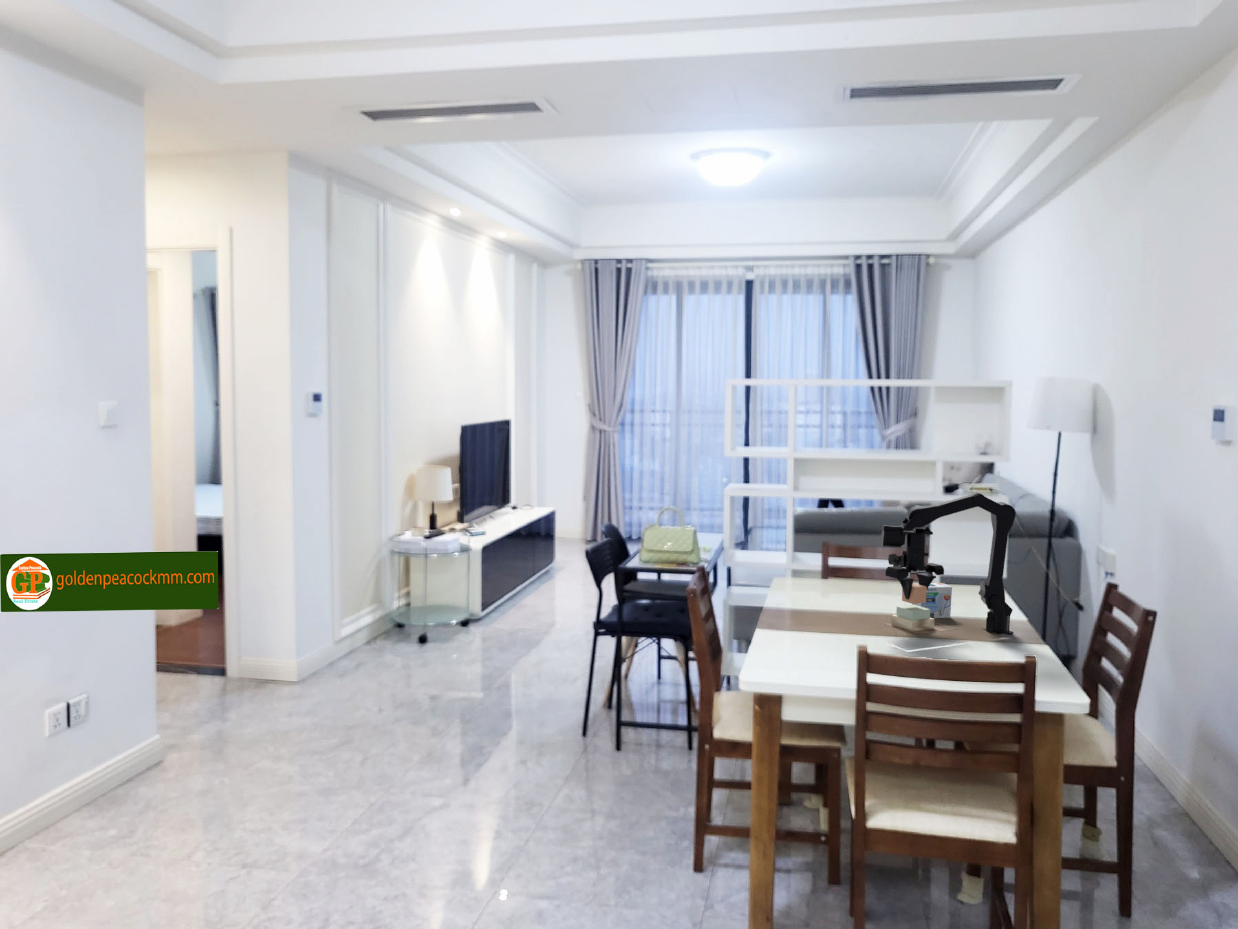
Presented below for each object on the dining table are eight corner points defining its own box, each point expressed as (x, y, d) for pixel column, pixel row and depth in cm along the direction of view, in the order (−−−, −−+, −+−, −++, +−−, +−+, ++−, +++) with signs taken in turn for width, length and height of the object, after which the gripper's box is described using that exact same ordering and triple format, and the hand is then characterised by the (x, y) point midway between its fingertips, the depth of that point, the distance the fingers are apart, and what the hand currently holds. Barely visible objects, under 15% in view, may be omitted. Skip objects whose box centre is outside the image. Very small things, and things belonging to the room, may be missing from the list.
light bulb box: (920, 620, 309) (921, 587, 308) (910, 615, 316) (912, 582, 315) (951, 619, 311) (952, 586, 310) (941, 614, 317) (942, 582, 317)
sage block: (913, 613, 303) (914, 604, 302) (929, 618, 296) (930, 609, 296) (896, 615, 300) (896, 606, 299) (912, 620, 293) (912, 611, 293)
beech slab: (913, 621, 304) (913, 612, 304) (934, 628, 296) (934, 618, 296) (891, 624, 300) (891, 615, 300) (911, 631, 292) (911, 621, 292)
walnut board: (925, 620, 308) (925, 619, 308) (958, 631, 296) (958, 629, 296) (884, 625, 301) (884, 623, 301) (915, 636, 288) (915, 634, 288)
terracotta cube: (914, 599, 301) (915, 583, 300) (925, 602, 296) (926, 586, 296) (902, 600, 299) (902, 584, 298) (913, 604, 294) (914, 587, 294)
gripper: (920, 542, 308) (918, 591, 309) (874, 546, 300) (872, 595, 301) (946, 548, 298) (944, 598, 299) (899, 551, 289) (897, 603, 291)
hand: (914, 598), depth 298 cm, fingers closed on terracotta cube, 5 cm apart
